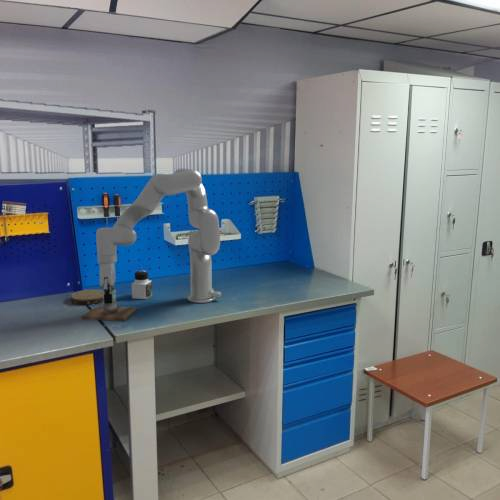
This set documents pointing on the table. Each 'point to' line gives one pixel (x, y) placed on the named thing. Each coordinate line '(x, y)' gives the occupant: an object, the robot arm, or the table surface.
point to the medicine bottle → (141, 286)
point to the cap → (112, 296)
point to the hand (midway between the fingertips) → (109, 300)
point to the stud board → (115, 316)
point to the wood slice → (87, 297)
